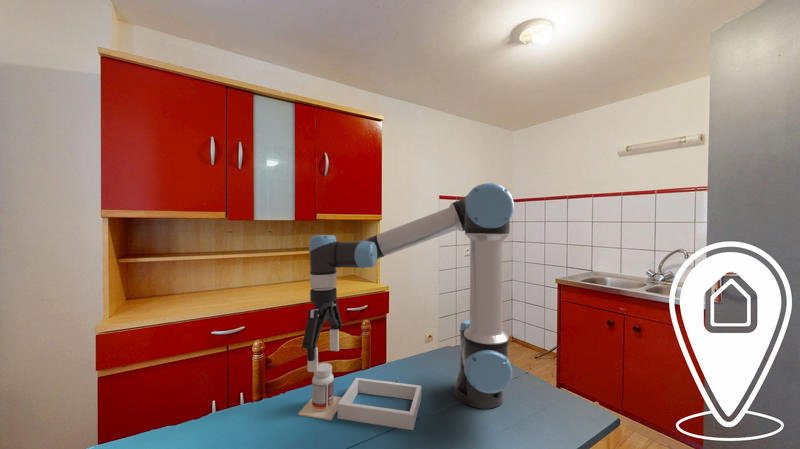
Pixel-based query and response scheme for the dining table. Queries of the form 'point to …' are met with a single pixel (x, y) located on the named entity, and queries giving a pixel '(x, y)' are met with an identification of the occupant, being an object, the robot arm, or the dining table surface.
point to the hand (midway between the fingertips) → (324, 360)
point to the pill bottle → (323, 388)
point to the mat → (325, 414)
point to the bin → (380, 414)
